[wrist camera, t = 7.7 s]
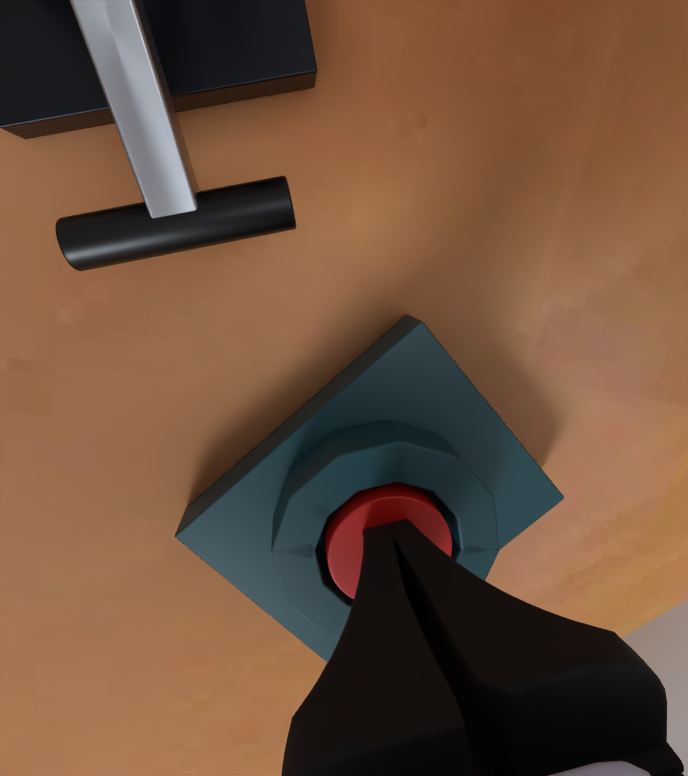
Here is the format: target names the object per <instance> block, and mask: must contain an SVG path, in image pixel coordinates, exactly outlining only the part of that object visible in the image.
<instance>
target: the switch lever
mask: <svg viewBox="0 0 688 776" xmlns="http://www.w3.org/2000/svg"><path fill="white" fill-rule="evenodd" d="M70 3H71V5H72V8H73V11H74V14H75V16H76V19H77V22H78V24H79V27H80V30H81V32H82V35H83V38H84V41H85V43H86V46H87V49H88V51H89V54H90V57H91V59H92V62H93V65H94V68H95V70H96V73H97V76H98V78H99V81H100V84H101V86H102V89H103V92H104V95H105V97H106V100H107V103H108V105H109V108H110V111H111V113H112V116H113V119H114V121H115V124H116V127H117V130H118V132H119V135H120V138H121V140H122V143H123V146H124V148H125V151H126V154H127V157H128V159H129V162H130V165H131V167H132V170H133V173H134V175H135V178H136V181H137V184H138V186H139V189H140V192H141V194H142V197H143V200H144V202H141V203H136V204H131V205H126V206H120V207H115V208H110V209H105V210H99V211H94V212H89V213H83V214H78V215H73V216H68V217H62V218H60V219H58V220H57V222H56V236H57V240H58V243H59V246H60V249H61V251H62V253H63V255H64V257H65V258H66V260H67V261H68V263H69V264H70V265H71V266H72V267H73V268H74V269H76V270H78V271H85V270H90V269H95V268H100V267H105V266H110V265H115V264H120V263H125V262H130V261H136V260H141V259H146V258H151V257H156V256H161V255H166V254H171V253H176V252H181V251H186V250H192V249H197V248H202V247H207V246H212V245H217V244H222V243H227V242H232V241H237V240H242V239H248V238H253V237H258V236H263V235H268V234H273V233H278V232H283V231H288V230H293V229H295V228H296V221H295V215H294V210H293V205H292V200H291V195H290V191H289V186H288V182H287V179H286V177H285V176H279V177H273V178H268V179H263V180H258V181H252V182H247V183H242V184H237V185H231V186H226V187H221V188H215V189H210V190H205V191H199V188H198V184H197V181H196V178H195V174H194V171H193V168H192V164H191V161H190V158H189V155H188V151H187V148H186V145H185V141H184V138H183V135H182V131H181V128H180V125H179V121H178V118H177V115H176V112H175V108H174V105H173V102H172V98H171V95H170V92H169V88H168V85H167V82H166V78H165V75H164V72H163V69H162V65H161V62H160V59H159V55H158V52H157V49H156V45H155V42H154V39H153V36H152V32H151V29H150V26H149V22H148V19H147V16H146V12H145V9H144V6H143V2H142V0H70Z"/></svg>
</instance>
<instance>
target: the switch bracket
mask: <svg viewBox="0 0 688 776" xmlns="http://www.w3.org/2000/svg"><path fill="white" fill-rule="evenodd" d="M142 2H143V6H144V9H145V12H146V16H147V19H148V22H149V26H150V29H151V32H152V36H153V39H154V42H155V45H156V49H157V52H158V55H159V59H160V62H161V65H162V69H163V72H164V75H165V78H166V82H167V85H168V88H169V92H170V95H171V98H172V102H173V105H174V108H175V112H179V111H185V110H190V109H196V108H201V107H207V106H213V105H218V104H224V103H229V102H235V101H241V100H246V99H252V98H257V97H263V96H269V95H274V94H280V93H285V92H291V91H296V90H302V89H308V88H313V87H315V81H316V75H317V66H316V60H315V55H314V49H313V44H312V38H311V32H310V27H309V21H308V16H307V10H306V5H305V0H142ZM112 123H115V121H114V119H113V116H112V113H111V111H110V108H109V105H108V103H107V100H106V97H105V95H104V92H103V89H102V86H101V84H100V81H99V78H98V76H97V73H96V70H95V68H94V65H93V62H92V59H91V57H90V54H89V51H88V49H87V46H86V43H85V41H84V38H83V35H82V32H81V30H80V27H79V24H78V22H77V19H76V16H75V14H74V11H73V8H72V5H71V3H70V0H0V128H2V129H4V130H6V131H8V132H11V133H13V134H15V135H17V136H20V137H22V138H24V139H28V138H34V137H39V136H45V135H50V134H56V133H62V132H67V131H73V130H78V129H84V128H90V127H95V126H101V125H106V124H112Z"/></svg>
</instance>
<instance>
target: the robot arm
mask: <svg viewBox="0 0 688 776" xmlns="http://www.w3.org/2000/svg"><path fill="white" fill-rule="evenodd" d="M362 535H363V557H362V564H361V570H360V576H359V581H358V585H357V589H356V593H355V597H354V601H353V604H352V607H351V610H350V613H349V616H348V619H347V622H346V624H345V627H344V629H343V632H342V634H341V636H340V639H339V641H338V643H337V645H336V648H335V650H334V652H333V654H332V656H331V658H330V659H329V661H328V663H327V665H326V666H325V668H324V670H323V672H322V674H321V675H320V677H319V679H318V681H317V682H316V684H315V686H314V687H313V689H312V690H311V692H310V693H309V694H308V696H307V697H306V699H305V700H304V702H303V703H302V704H301V706H300V707H299V709H298V710H297V712H296V713H295V714H294V716H293V717H292V721H291V725H290V729H289V733H288V738H287V743H286V748H285V753H284V760H283V767H282V776H684V775H683V774H682V773H681V772H683V771H684V766H683V764H682V762H681V760H680V758H679V757H678V756H677V755H676V753H675V752H674V751H673V749H672V748H671V747H670V746H669V744H668V743H667V741H666V740H667V739H666V738H667V699H666V692H665V688H664V687H663V685H662V683H661V681H660V679H659V678H658V676H657V675H656V674H655V673H654V672H653V671H652V670H651V668H650V667H649V666H648V665H647V664H646V663H645V662H644V660H643V659H641V658H640V656H639V655H637V653H636V652H635V651H634V650H633V649H632V648H631V647H630V646H628V645H627V644H626V643H625V642H624V641H623V640H622V639H621V638H620V637H619V636H618V635H617V634H616V633H615V632H612V631H609V630H605V629H602V628H598V627H595V626H591V625H587V624H584V623H580V622H577V621H573V620H570V619H567V618H565V617H562V616H559V615H556V614H553V613H551V612H548V611H545V610H543V609H540V608H538V607H536V606H533V605H531V604H529V603H526V602H524V601H522V600H520V599H518V598H516V597H513V596H511V595H509V594H507V593H505V592H503V591H501V590H500V589H498V588H496V587H494V586H493V585H491V584H489V583H487V582H486V581H484V580H482V579H481V578H479V577H478V576H476V575H475V574H473V573H472V572H470V571H469V570H468V569H466V568H465V567H463V566H462V565H460V564H459V563H458V562H456V561H455V560H454V559H452V558H451V557H450V556H449V555H448V554H446V553H445V552H444V551H443V550H441V549H440V548H439V547H438V546H437V545H435V544H434V543H433V542H432V541H431V540H430V539H429V538H428V537H426V536H425V535H424V534H423V533H422V532H421V531H420V530H419V529H418V528H417V527H416V526H415V525H414V524H413V523H412V522H411V521H410V520H408V519H404V520H399V521H395V522H391V523H387V524H383V525H378V526H374V527H370V528H366V529H365V530H364V531H363V532H362Z"/></svg>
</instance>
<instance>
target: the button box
mask: <svg viewBox="0 0 688 776" xmlns="http://www.w3.org/2000/svg"><path fill="white" fill-rule="evenodd" d="M394 482H401V483H405V484H409V485H412V486H416V487H420V488H423V489H426V490H427V491H428V493H429V494H430V496H431V498H432V499H433V501H434V503H435V504H436V506H437V508H438V509H439V511H440V513H441V514H442V516H443V518H444V519H445V521H446V523H447V525H448V527H449V530H450V533H451V538H452V552H451V558H452V559H454V560H455V561H456V562H458V563H459V564H460V565H462V566H463V567H465V568H466V569H468V570H469V571H470V572H472V573H473V574H475V575H476V576H478V577H479V578H481V579H482V580H484V581H485V580H486V577H487V575H488V573H489V571H490V569H491V567H492V565H493V563H494V561H495V558H496V556H497V554H498V552H499V550H500V549H501V548H503V547H504V546H505V545H506V544H508V543H509V542H510V541H511V540H513V539H514V538H515V537H516V536H518V535H519V534H520V533H521V532H523V531H524V530H525V529H526V528H528V527H529V526H530V525H531V524H533V523H534V522H535V521H536V520H538V519H539V518H540V517H542V516H543V515H544V514H545V513H547V512H548V511H549V510H550V509H552V508H553V507H554V506H555V505H557V504H558V503H559V502H560V501H562V500H563V499H564V496H563V495H562V494H561V493H560V491H559V490H558V489H557V488H556V486H555V485H554V484H553V483H552V481H551V480H550V479H549V478H548V476H547V475H546V474H545V473H544V471H543V470H542V469H541V468H540V467H539V465H538V464H537V463H536V462H535V460H534V459H533V458H532V457H531V455H530V454H529V453H528V452H527V450H526V449H525V448H524V447H523V446H522V444H521V443H520V442H519V441H518V439H517V438H516V437H515V436H514V434H513V433H512V432H511V431H510V429H509V428H508V427H507V426H506V424H505V423H504V422H503V421H502V420H501V418H500V417H499V416H498V415H497V413H496V412H495V411H494V410H493V408H492V407H491V406H490V405H489V403H488V402H487V401H486V400H485V398H484V397H483V396H482V395H481V394H480V392H479V391H478V390H477V389H476V387H475V386H474V385H473V384H472V382H471V381H470V380H469V379H468V377H467V376H466V375H465V374H464V373H463V371H462V370H461V369H460V368H459V366H458V365H457V364H456V363H455V361H454V360H453V359H452V358H451V356H450V355H449V354H448V353H447V351H446V350H445V349H444V348H443V347H442V345H441V344H440V343H439V342H438V340H437V339H436V338H435V337H434V335H433V334H432V333H431V332H430V330H429V329H428V328H427V327H426V326H425V324H424V323H423V322H422V321H420V320H418V319H416V318H414V317H412V316H409V315H406V316H405V317H404V318H403V319H402V320H400V321H399V322H398V323H397V324H396V325H395V326H394V327H392V328H391V329H390V330H389V331H388V332H387V333H386V334H384V335H383V336H382V337H381V338H380V339H379V340H378V341H376V342H375V343H374V344H373V345H372V346H371V347H370V348H368V349H367V350H366V351H365V352H364V353H363V354H362V355H360V356H359V357H358V358H357V359H356V360H355V361H354V362H352V363H351V364H350V365H349V366H348V367H347V368H346V369H344V370H343V371H342V372H341V373H340V374H339V375H338V376H337V377H335V378H334V379H333V380H332V381H331V382H330V383H329V384H327V385H326V386H325V387H324V388H323V389H322V390H321V391H319V392H318V393H317V394H316V395H315V396H314V397H313V398H311V399H310V400H309V401H308V402H307V403H306V404H305V405H303V406H302V407H301V408H300V409H299V410H298V411H297V412H295V413H294V414H293V415H292V416H291V417H290V418H289V419H287V420H286V421H285V422H284V423H283V424H282V425H281V426H279V427H278V428H277V429H276V430H275V431H274V432H273V433H271V434H270V435H269V436H268V437H267V438H266V439H265V440H263V441H262V442H261V443H260V444H259V445H258V446H257V447H255V448H254V449H253V450H252V451H251V452H250V453H249V454H247V455H246V456H245V457H244V458H243V459H242V460H241V461H239V462H238V463H237V464H236V465H235V466H234V467H233V468H231V469H230V470H229V471H228V472H227V473H226V474H225V475H223V476H222V477H221V478H220V479H219V480H218V481H217V482H215V483H214V484H213V485H212V486H211V487H210V488H209V489H207V490H206V491H205V492H204V493H203V494H202V495H201V496H199V497H198V498H197V499H196V500H195V501H194V502H193V503H191V504H190V505H189V506H188V507H187V508H186V509H185V512H184V514H183V517H182V519H181V522H180V524H179V527H178V529H177V532H176V534H175V537H176V538H177V539H178V540H179V541H180V542H182V543H183V544H184V545H185V546H187V547H188V548H189V549H190V550H191V551H193V552H194V553H195V554H196V555H197V556H199V557H200V558H201V559H202V560H204V561H205V562H206V563H207V564H208V565H210V566H211V567H212V568H213V569H214V570H216V571H217V572H218V573H219V574H221V575H222V576H223V577H224V578H225V579H227V580H228V581H229V582H230V583H231V584H233V585H234V586H235V587H236V588H238V589H239V590H240V591H241V592H242V593H244V594H245V595H246V596H247V597H249V598H250V599H251V600H252V601H253V602H255V603H256V604H257V605H258V606H259V607H261V608H262V609H263V610H264V611H266V612H267V613H268V614H269V615H270V616H272V617H273V618H274V619H275V620H276V621H278V622H279V623H280V624H281V625H283V626H284V627H285V628H286V629H287V630H289V631H290V632H291V633H292V634H293V635H295V636H296V637H297V638H298V639H300V640H301V641H302V642H303V643H304V644H306V645H307V646H308V647H309V648H310V649H312V650H313V651H314V652H315V653H317V654H318V655H319V656H320V657H321V658H323V659H324V660H325V661H326V662H327V663H328V661H329V659H330V658H331V656H332V654H333V652H334V650H335V648H336V645H337V643H338V641H339V639H340V636H341V634H342V632H343V629H344V627H345V624H346V622H347V619H348V616H349V613H350V610H351V607H352V604H353V601H354V599H352V598H351V597H349V596H348V595H346V594H345V593H344V592H343V591H342V590H341V589H340V588H339V587H338V586H337V585H336V583H335V582H334V580H333V578H332V576H331V574H330V571H329V568H328V561H327V554H326V546H325V539H324V531H323V528H324V525H325V523H326V520H327V517H328V516H329V515H330V514H331V513H332V512H334V511H335V510H336V509H337V508H338V507H339V506H341V505H342V504H343V503H344V502H345V501H347V500H348V499H349V498H350V497H351V496H353V495H354V494H355V493H356V492H357V491H360V490H364V489H368V488H373V487H377V486H381V485H386V484H390V483H394Z"/></svg>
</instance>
